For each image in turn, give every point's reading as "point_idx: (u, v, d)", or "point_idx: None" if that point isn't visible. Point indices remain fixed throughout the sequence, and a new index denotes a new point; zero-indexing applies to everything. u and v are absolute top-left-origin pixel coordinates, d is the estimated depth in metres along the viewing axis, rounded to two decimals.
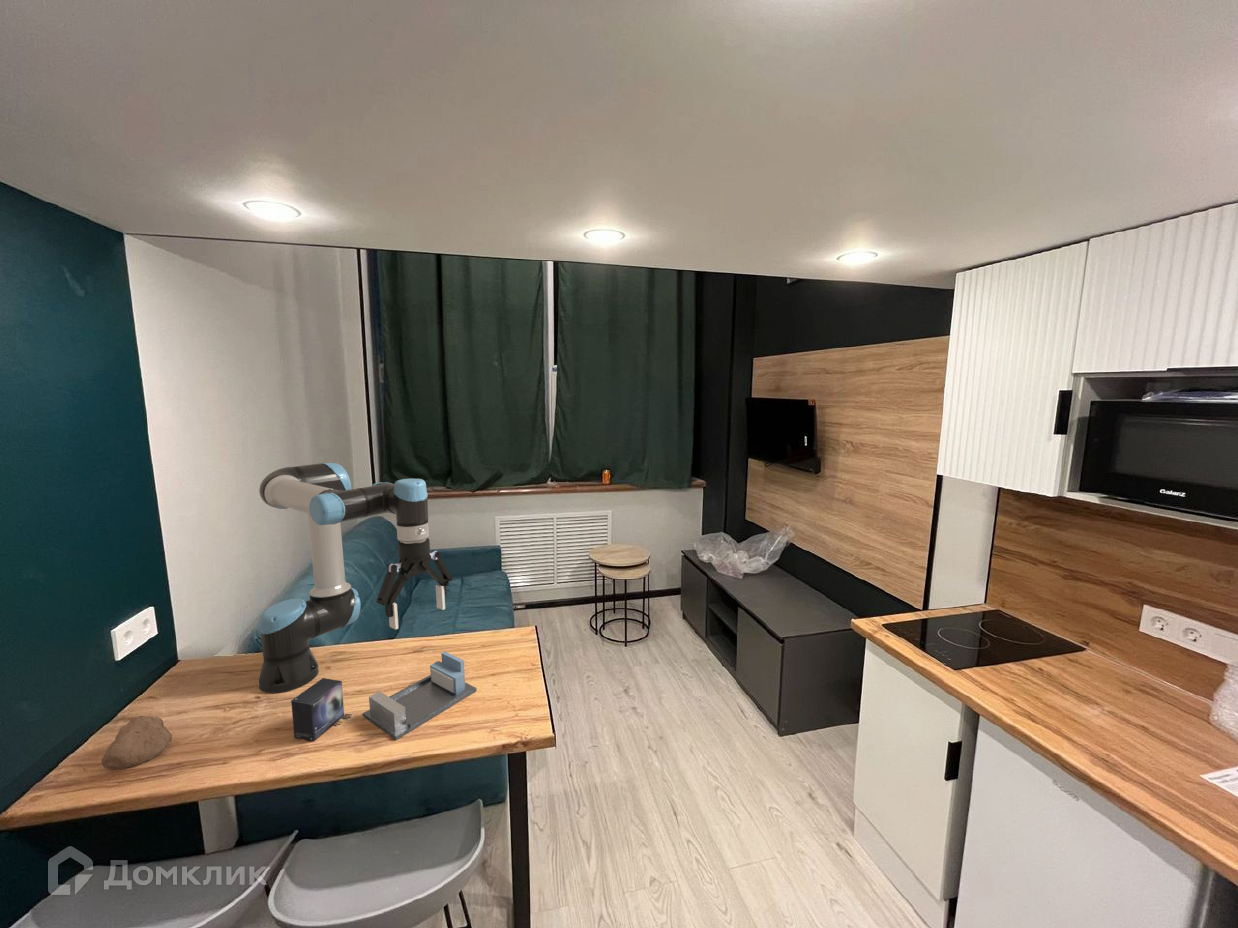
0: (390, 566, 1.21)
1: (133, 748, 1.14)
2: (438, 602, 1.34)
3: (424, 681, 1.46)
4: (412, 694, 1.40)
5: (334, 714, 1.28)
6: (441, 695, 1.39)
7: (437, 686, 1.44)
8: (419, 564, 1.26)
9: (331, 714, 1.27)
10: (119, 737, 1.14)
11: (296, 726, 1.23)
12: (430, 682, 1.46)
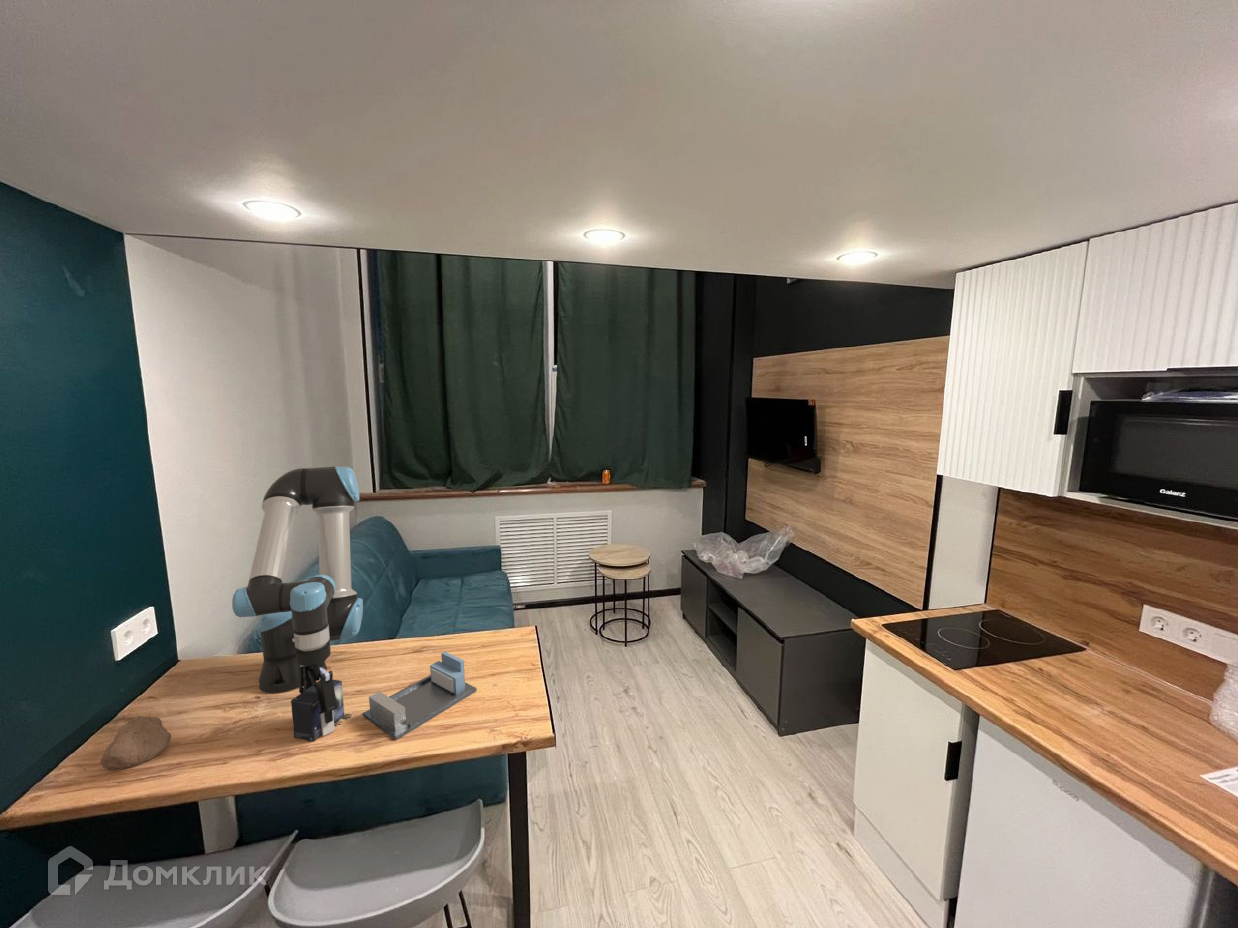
0: None
1: (133, 748, 1.14)
2: None
3: (424, 681, 1.46)
4: (412, 694, 1.40)
5: (334, 714, 1.28)
6: (441, 695, 1.39)
7: (437, 686, 1.44)
8: None
9: None
10: (118, 738, 1.14)
11: (296, 726, 1.23)
12: (430, 682, 1.46)
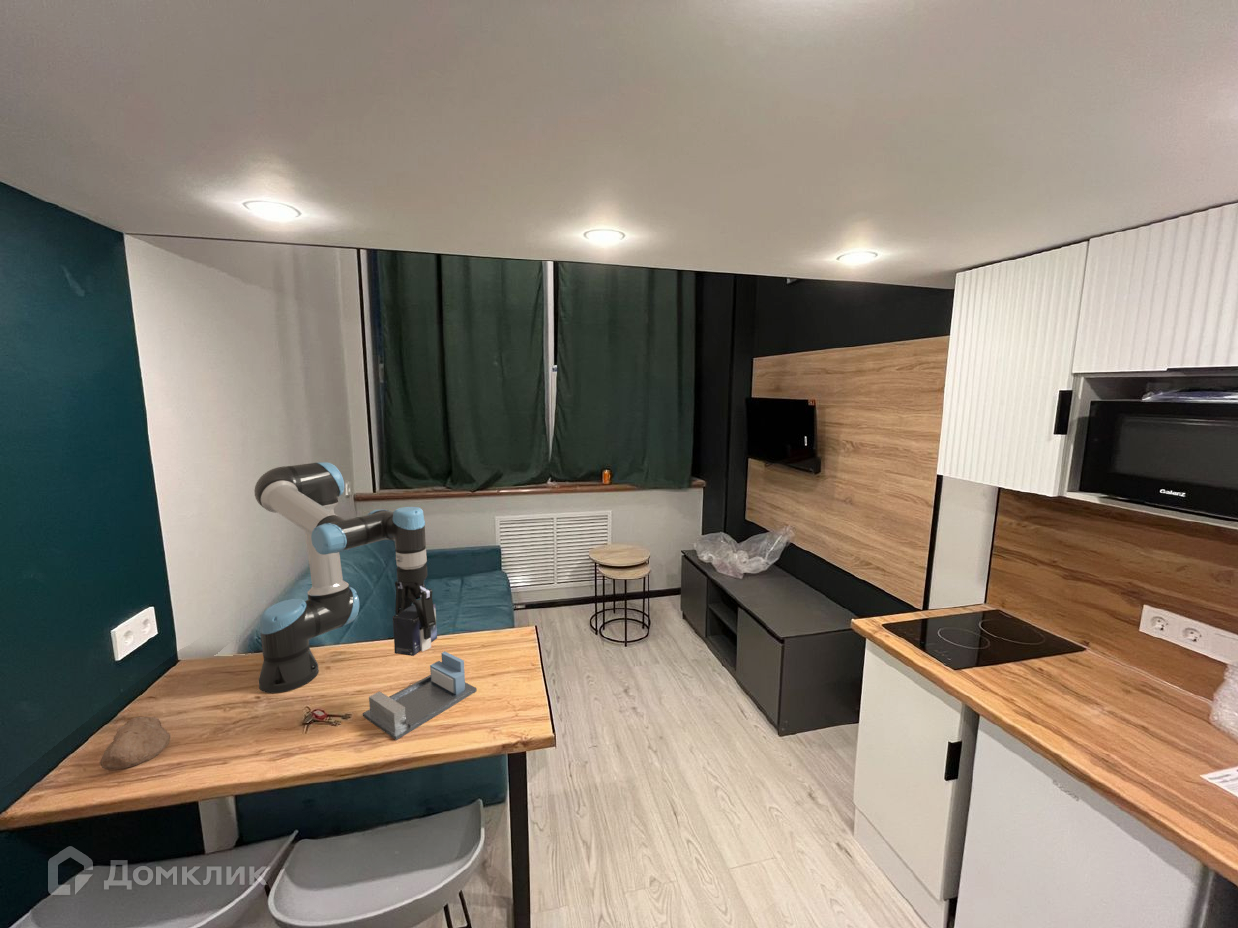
0: None
1: (133, 748, 1.14)
2: None
3: (424, 681, 1.46)
4: (412, 694, 1.40)
5: None
6: (441, 695, 1.39)
7: (437, 686, 1.44)
8: (410, 589, 1.31)
9: None
10: (117, 738, 1.14)
11: (397, 641, 1.30)
12: (430, 682, 1.46)
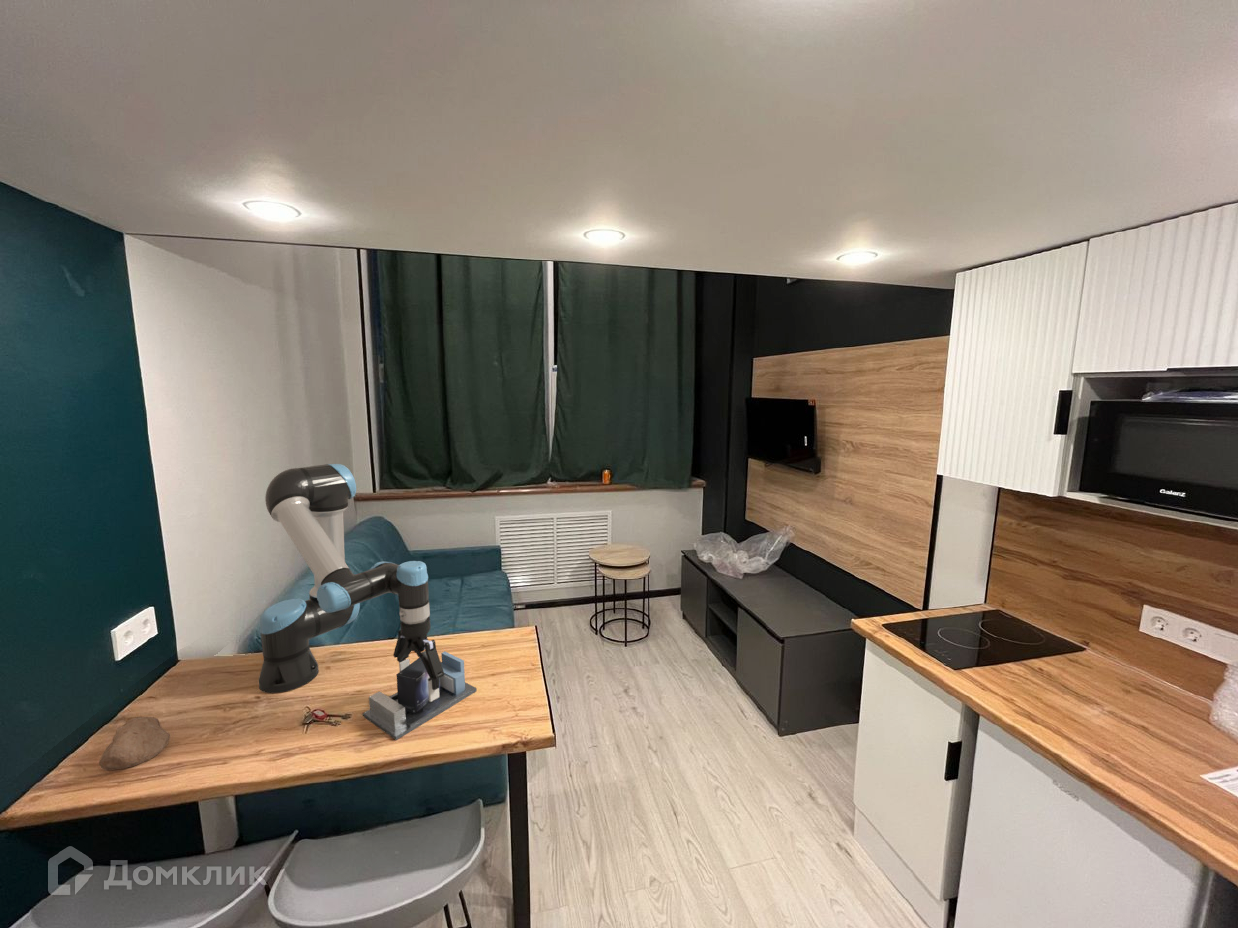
0: None
1: (133, 748, 1.14)
2: None
3: None
4: None
5: None
6: (441, 695, 1.39)
7: None
8: None
9: None
10: (117, 738, 1.14)
11: (400, 698, 1.32)
12: None
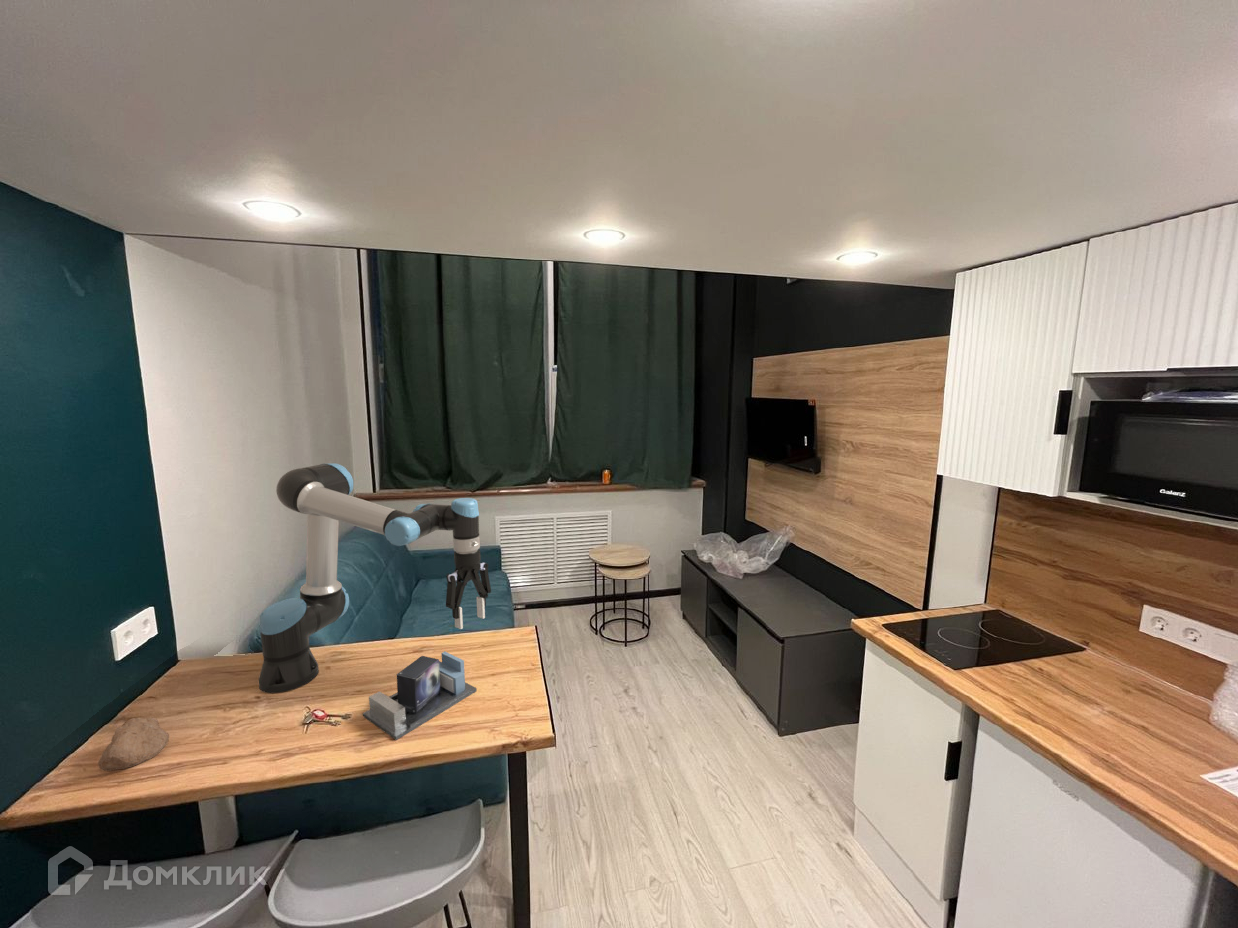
0: (449, 577, 1.41)
1: (132, 748, 1.14)
2: (479, 612, 1.52)
3: None
4: None
5: (433, 689, 1.37)
6: (441, 695, 1.39)
7: None
8: (471, 570, 1.47)
9: (430, 689, 1.36)
10: (116, 739, 1.14)
11: (400, 698, 1.32)
12: None
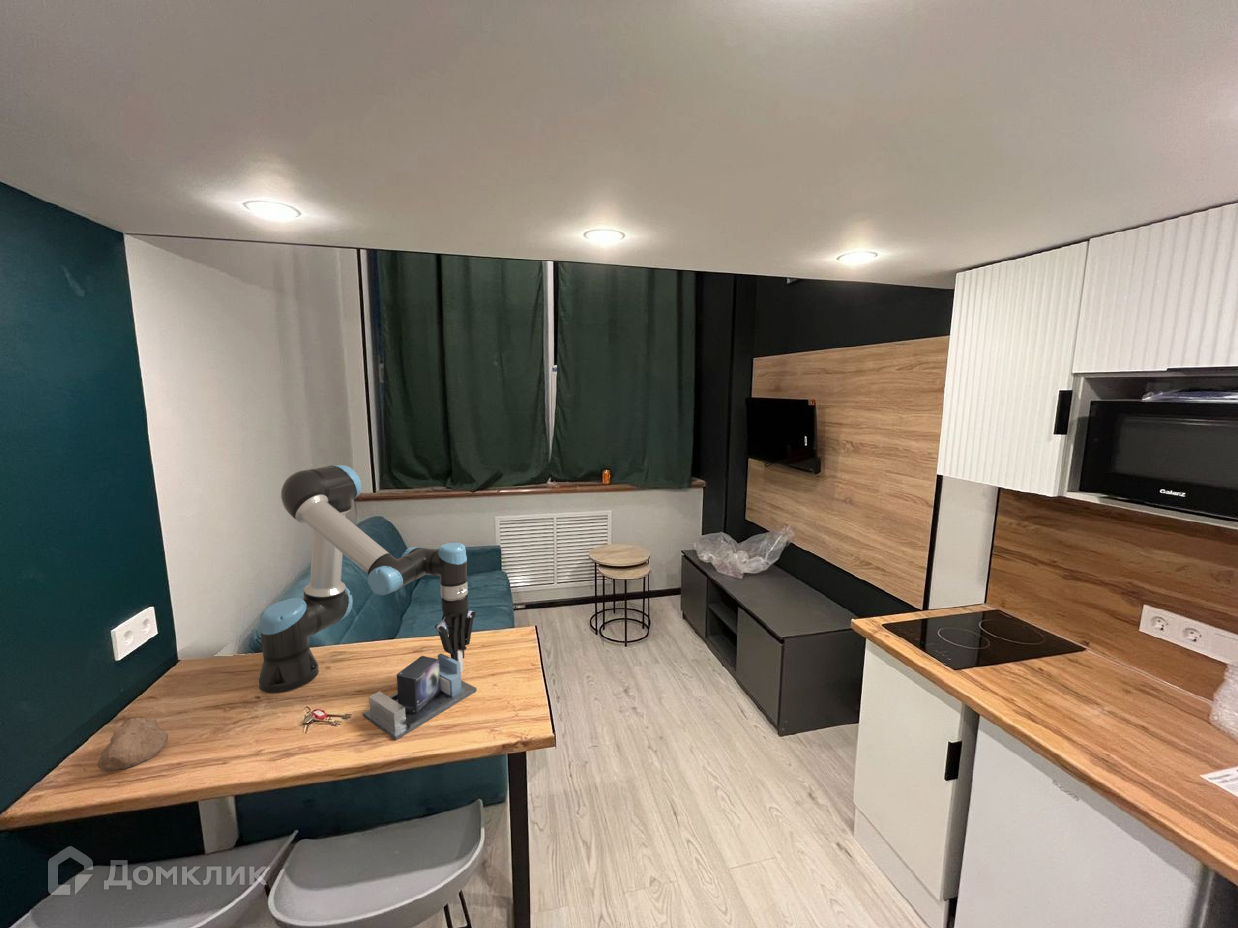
0: (438, 629, 1.40)
1: (132, 748, 1.14)
2: None
3: None
4: None
5: (433, 689, 1.37)
6: (441, 695, 1.39)
7: None
8: (459, 615, 1.44)
9: (430, 689, 1.36)
10: (115, 739, 1.14)
11: (400, 698, 1.32)
12: None
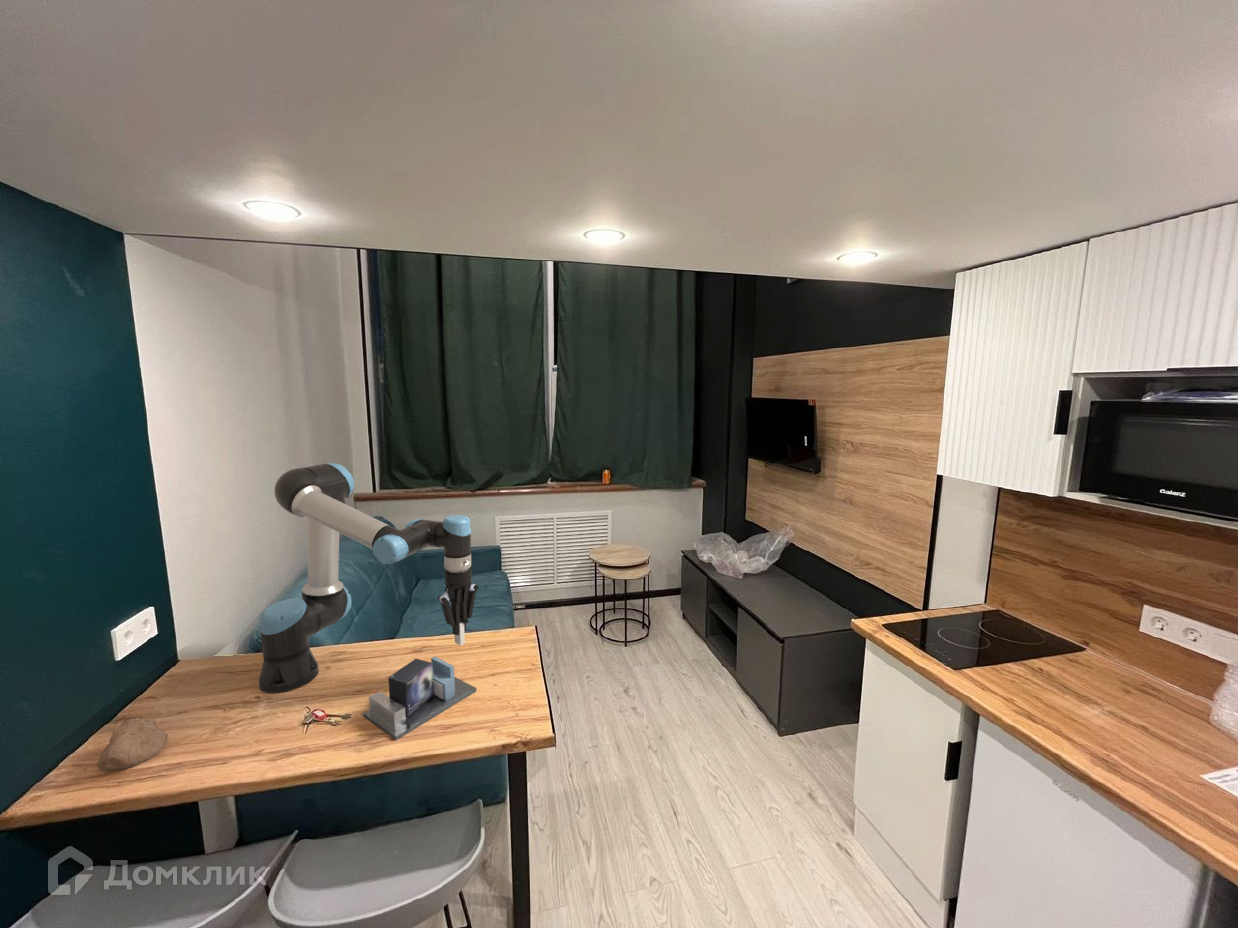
0: (440, 600, 1.40)
1: (132, 748, 1.14)
2: None
3: None
4: None
5: (425, 693, 1.35)
6: None
7: None
8: (462, 588, 1.45)
9: (423, 693, 1.34)
10: (115, 739, 1.13)
11: None
12: None
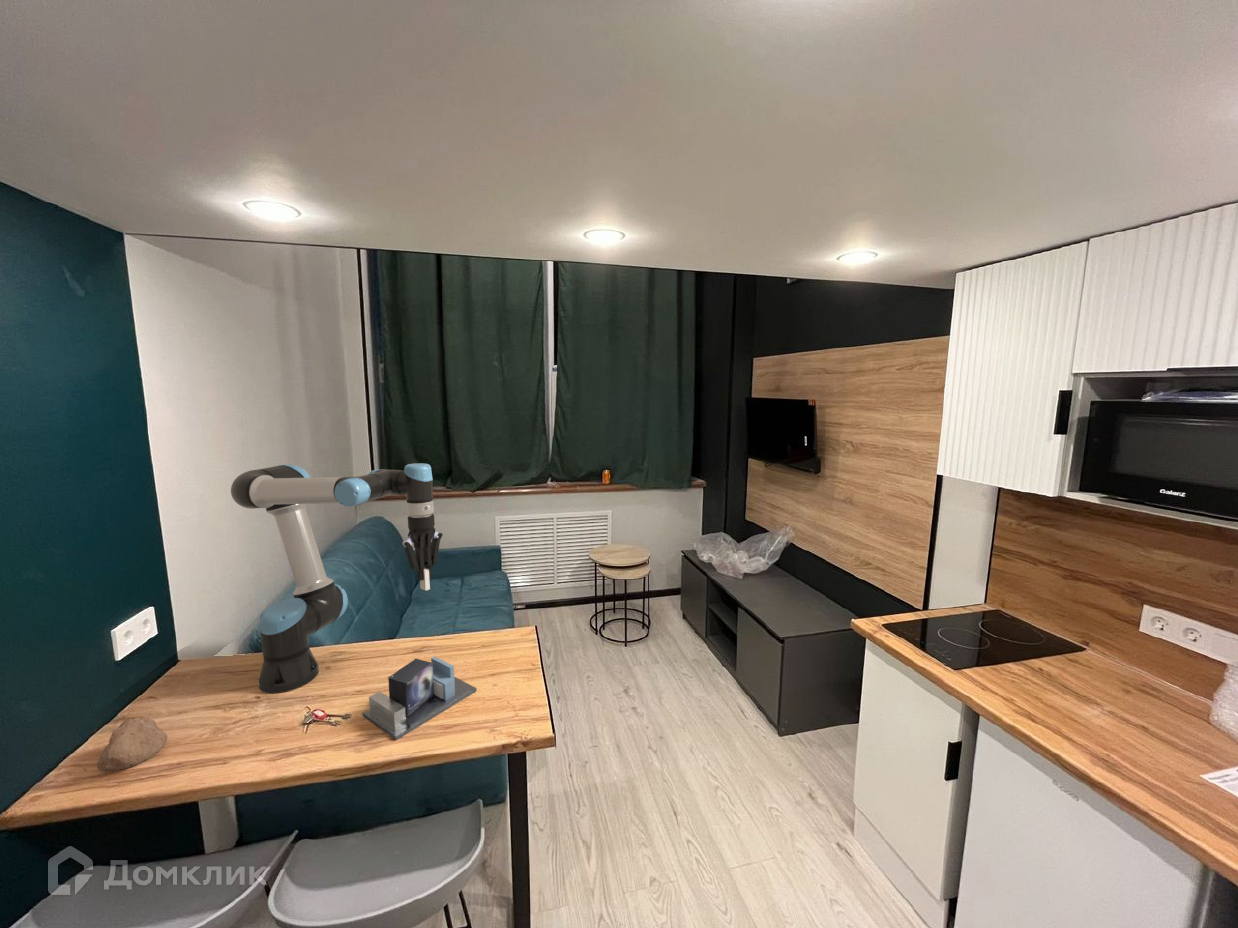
0: (403, 544, 1.44)
1: (131, 749, 1.14)
2: None
3: None
4: None
5: (425, 693, 1.35)
6: None
7: None
8: (425, 534, 1.49)
9: (423, 693, 1.34)
10: (114, 740, 1.13)
11: None
12: None
